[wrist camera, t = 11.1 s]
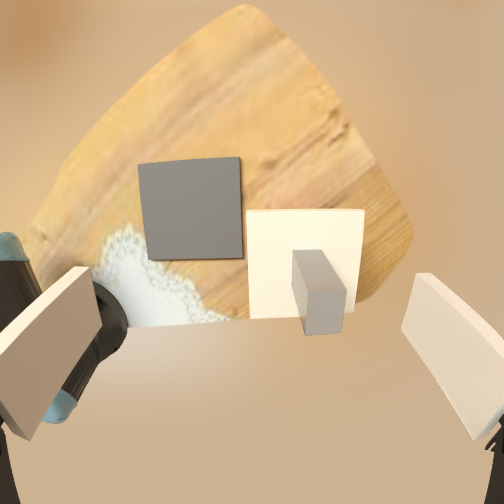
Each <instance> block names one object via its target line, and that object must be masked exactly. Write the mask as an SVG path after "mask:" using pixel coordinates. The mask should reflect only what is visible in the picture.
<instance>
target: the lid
mask: <svg viewBox="0 0 504 504" xmlns="http://www.w3.org/2000/svg"><path fill="white" fill-rule="evenodd" d="M364 214H365V211H364V210H362V209H267V210H246V217H247V247H248V276H249V304H250V319H256V318H284V317H300V319H301V322H302V326H303V330H304V333H305V336H308V335H322V334H334V333H341V329H342V322H343V316H344V314H348V313H353V312H354V305H355V298H356V291H357V284H358V276H359V268H360V259H361V250H362V239H363V227H364Z"/></svg>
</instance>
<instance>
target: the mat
mask: <svg viewBox="0 0 504 504" xmlns="http://www.w3.org/2000/svg"><path fill="white" fill-rule="evenodd" d="M138 173H139V185H140V196H141V206H142V215H143V223H144V231H145V239H146V246H147V253H148V260H161V259H209V258H243V251H242V223H241V193H240V160H239V157H226V158H206V159H191V160H178V161H167V162H157V163H147V164H139V165H138Z"/></svg>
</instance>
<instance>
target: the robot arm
mask: <svg viewBox="0 0 504 504" xmlns="http://www.w3.org/2000/svg"><path fill="white" fill-rule="evenodd" d="M29 262H30V260H29V258H28V257H27V256H26V254H25V252H24V250H23V247H22V245H21V242H20V240H19V238H18V237H17V236H16V235H15V234H14V233H11V232H4V233H0V504H21V503H20V500H19V497H18V493H17V490H16V486H15V482H14V478H13V474H12V469H11V465H10V461H9V455H8V450H7V443H6V437H5V433H4V430H3V429H2V428H1V425H2V424H3V422H5V423H6V424H7V426H8V427H9V428H10V430H11V431H12V432H13V433H14V434H16V435H18V436H20V437H22V438H24V439H26V440H28V441H30V440H31V438H32V437H33V435H34V433H35V431H36V429H37V428H38V426H39V424H40V422H41V421H43V422H47V423H51V424H58V423H62V422H64V421H65V420H66V419H67V418H68V416H69V415H70V413H71V412H72V410H73V409H74V408H75V407H76V406H77V402H78V400H79V398H80V396H81V395H82V393H83V391H84V389H85V387H86V385H87V383H88V382H89V379H90V378H91V376H92V374H93V373H94V371H95V369H96V367H97V366H98V364H99V363H100V362H101V361H103V360H104V359H106V358H107V357H108V356H109V355H111V354H113V353H114V352H116V351H117V350H118V349H119V348H120V346H121V345H122V343H123V341H124V339H125V337H126V334H127V320H126V316H125V314H124V311H123V309H122V307H121V306H120V304H119V303H118V301H117V300H116V299H115V297H114V296H113V295H112V294H111V293H110V292H109V291H108V290H106V289H105V288H104V287H102V286H101V285H99V284H97V283H95V282H93V281H92V277H91V272H90V267H78V266H75V267H73V268H72V269H71V270H70V271H68V272H67V273H66V274H65V275H64V276H62V277H61V278H60V279H59V280H58V281H57V282H55V283H54V284H53V285H52V286H51V287H50V288H48V289H47V290H46V291H45V292H44V293H42V290H41V288H40V286H39V284H38V282H37V279H36V277H35V275H34V272H33V270H32V267H31V265H30V263H29ZM401 330H402V332H403V333H404V334H405V336H406V337H407V339H408V340H409V342H410V343H411V344H412V346H413V347H414V349H415V350H416V352H417V353H418V354H419V356H420V357H421V359H422V360H423V362H424V363H425V364H426V366H427V368H428V369H429V371H430V372H431V373H432V375H433V376H434V378H435V380H436V381H437V383H438V384H439V386H440V387H441V389H442V390H443V392H444V393H445V395H446V397H447V398H448V400H449V401H450V403H451V404H452V406H453V407H454V409H455V411H456V412H457V414H458V416H459V417H460V419H461V421H462V422H463V424H464V426H465V427H466V429H467V431H468V433H469V434H470V436H471V438H472V439H473V441H475V440H477V439H479V438H481V437H483V436H485V435H487V434H489V433H490V431H491V430H492V429H493V428H494V426H495V425H496V424H497V422H498V421H499V423H500V424H501V426H502V427H501V428H500V429H499V430H498V432H497V433H496V434H495V435H494V437H493V438H492V439H491V440H490V441H489V442H488V444H487V445H486V447H485V450H488V449H489V447H490V446H491V445H492V444H493V443H494V442H496V444H495V445H494V447H493V448H492V449H491V451H493V452H494V458H493V465H492V470H491V475H490V481H489V485H488V490H487V494H486V498H485V502H484V504H504V338H502V337H501V336H500V335H499V334H498V333H497V332H496V331H495V330H494V329H493V328H492V327H491V326H490V325H489V324H488V323H487V322H486V321H484V320H483V319H482V318H481V317H480V316H479V315H478V314H477V313H476V312H475V311H474V310H473V309H472V308H470V307H469V306H468V305H467V304H466V303H465V302H464V301H463V300H461V299H460V298H459V297H458V296H457V295H456V294H455V293H454V292H452V291H451V290H450V289H449V288H448V287H446V286H445V285H444V284H443V283H442V282H441V281H439V280H438V279H437V278H436V277H435V276H433V275H432V274H431V273H416V277H415V281H414V285H413V289H412V293H411V296H410V300H409V304H408V307H407V311H406V314H405V317H404V321H403V324H402V327H401Z"/></svg>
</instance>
